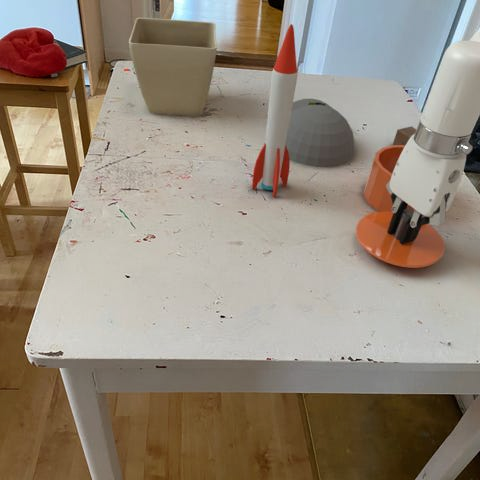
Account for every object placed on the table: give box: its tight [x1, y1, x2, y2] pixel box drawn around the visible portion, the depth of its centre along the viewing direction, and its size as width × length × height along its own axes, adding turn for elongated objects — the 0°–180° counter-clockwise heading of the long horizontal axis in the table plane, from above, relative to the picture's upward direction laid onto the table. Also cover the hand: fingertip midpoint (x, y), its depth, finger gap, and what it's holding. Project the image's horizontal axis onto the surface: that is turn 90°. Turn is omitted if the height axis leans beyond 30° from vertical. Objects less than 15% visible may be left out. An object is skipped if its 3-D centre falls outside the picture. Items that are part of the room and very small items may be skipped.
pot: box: [363, 144, 415, 212], centre depth 94 cm, size 15×15×8 cm
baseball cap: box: [286, 98, 355, 168], centre depth 109 cm, size 19×26×12 cm
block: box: [392, 126, 417, 145], centre depth 111 cm, size 5×5×5 cm
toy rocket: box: [251, 23, 298, 199], centre depth 86 cm, size 6×6×30 cm
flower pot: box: [128, 17, 218, 117], centre depth 114 cm, size 19×19×17 cm
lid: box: [355, 209, 445, 269], centre depth 82 cm, size 16×16×6 cm
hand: (400, 235), depth 84 cm, fingers closed on lid, 2 cm apart
